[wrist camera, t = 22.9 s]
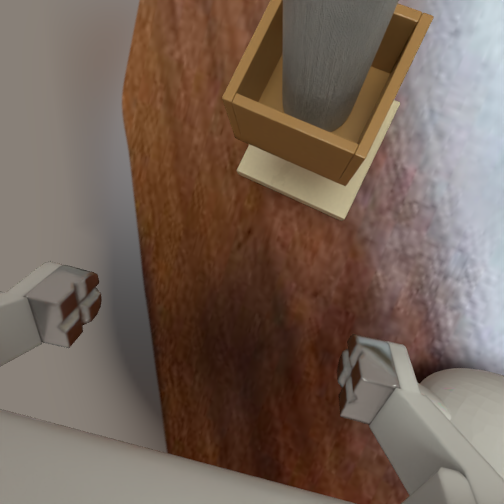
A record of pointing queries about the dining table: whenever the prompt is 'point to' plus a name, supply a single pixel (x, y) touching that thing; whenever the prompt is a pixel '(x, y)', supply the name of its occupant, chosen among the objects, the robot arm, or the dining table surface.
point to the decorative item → (472, 408)
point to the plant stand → (307, 135)
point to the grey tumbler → (329, 55)
